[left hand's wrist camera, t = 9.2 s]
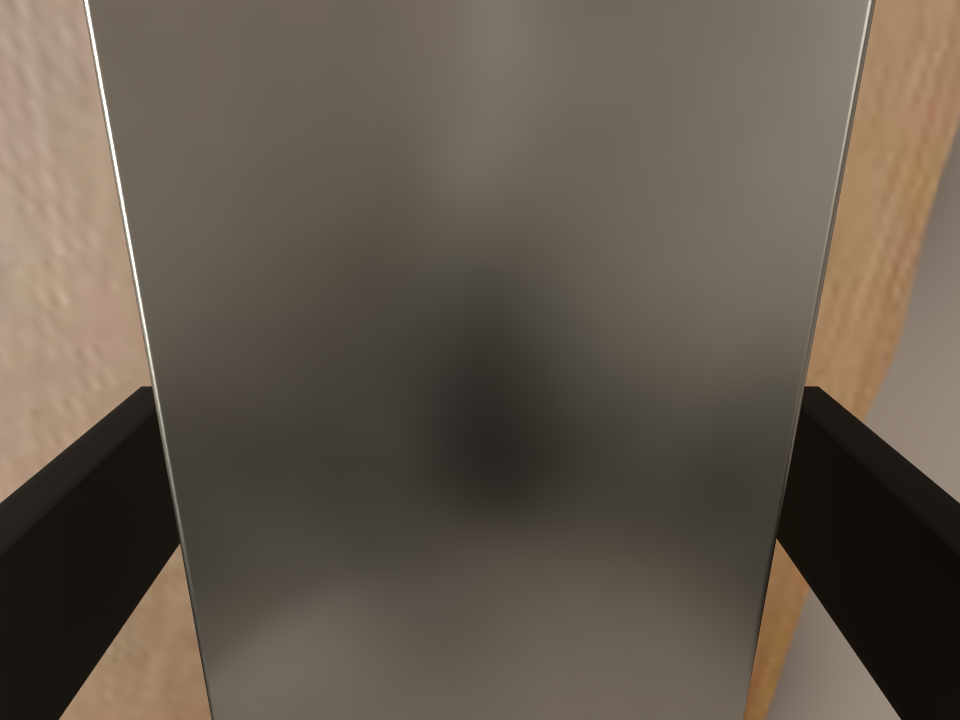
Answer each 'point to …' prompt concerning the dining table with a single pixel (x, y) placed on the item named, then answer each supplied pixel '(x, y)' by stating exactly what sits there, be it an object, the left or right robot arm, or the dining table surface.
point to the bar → (478, 336)
